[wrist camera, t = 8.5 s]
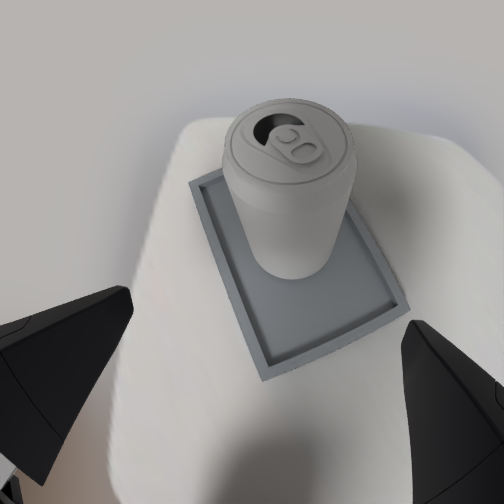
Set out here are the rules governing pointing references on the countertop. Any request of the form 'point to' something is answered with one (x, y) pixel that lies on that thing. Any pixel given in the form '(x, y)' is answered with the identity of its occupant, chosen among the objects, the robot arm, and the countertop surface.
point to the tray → (298, 287)
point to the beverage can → (290, 182)
